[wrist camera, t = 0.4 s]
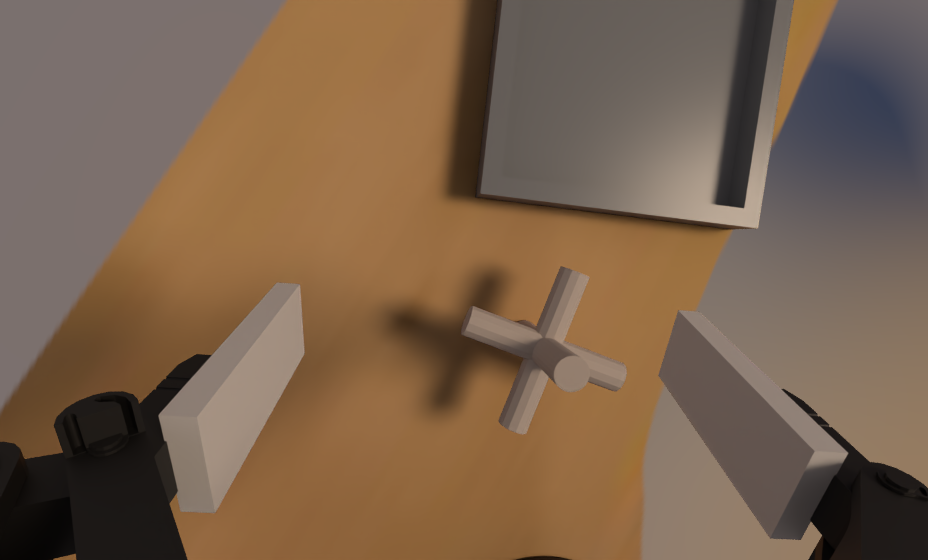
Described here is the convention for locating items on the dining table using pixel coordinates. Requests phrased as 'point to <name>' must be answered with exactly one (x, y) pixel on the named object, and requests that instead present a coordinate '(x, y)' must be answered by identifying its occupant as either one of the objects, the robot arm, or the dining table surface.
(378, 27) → the dining table surface
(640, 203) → the tray
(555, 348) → the pipe connector
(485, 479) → the dining table surface
